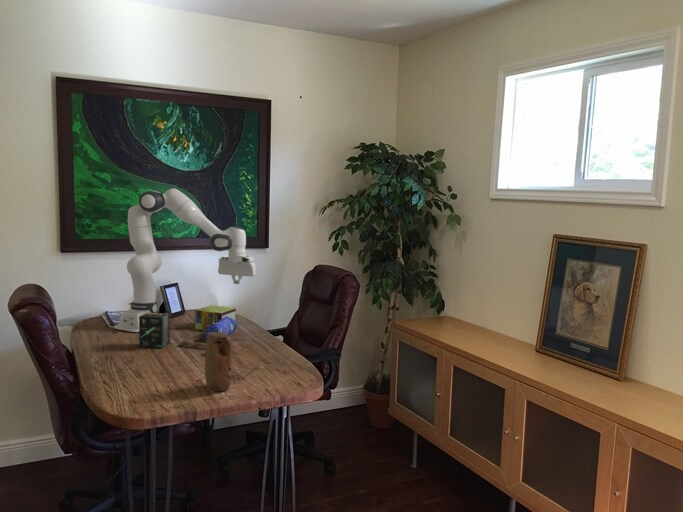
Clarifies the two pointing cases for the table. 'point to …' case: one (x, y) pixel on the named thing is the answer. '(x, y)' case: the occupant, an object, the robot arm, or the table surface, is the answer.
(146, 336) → the tampon box
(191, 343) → the frame
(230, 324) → the pencil case
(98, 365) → the table surface
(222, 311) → the protein box
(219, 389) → the block
